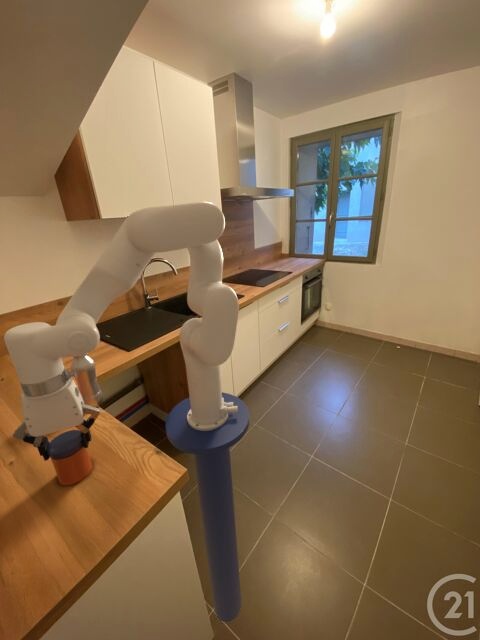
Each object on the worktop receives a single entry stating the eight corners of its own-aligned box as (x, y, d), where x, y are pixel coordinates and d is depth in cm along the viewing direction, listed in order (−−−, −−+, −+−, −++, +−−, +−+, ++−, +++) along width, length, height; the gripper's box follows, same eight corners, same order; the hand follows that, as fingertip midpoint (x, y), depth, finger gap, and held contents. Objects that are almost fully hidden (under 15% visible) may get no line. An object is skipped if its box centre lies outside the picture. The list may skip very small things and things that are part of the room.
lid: (64, 433, 63) (63, 429, 62) (91, 435, 62) (90, 430, 62) (40, 458, 56) (38, 453, 56) (70, 460, 55) (68, 455, 55)
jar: (97, 459, 65) (88, 431, 62) (83, 484, 59) (73, 454, 56) (69, 461, 65) (59, 433, 62) (52, 486, 58) (40, 456, 56)
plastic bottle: (80, 405, 86) (64, 350, 80) (102, 396, 90) (88, 343, 84) (84, 414, 82) (67, 357, 75) (107, 405, 86) (93, 349, 79)
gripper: (94, 364, 60) (110, 427, 66) (0, 384, 54) (27, 451, 60) (91, 380, 53) (109, 448, 59) (-17, 404, 47) (15, 477, 53)
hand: (68, 449), depth 59 cm, fingers closed on lid, 7 cm apart
